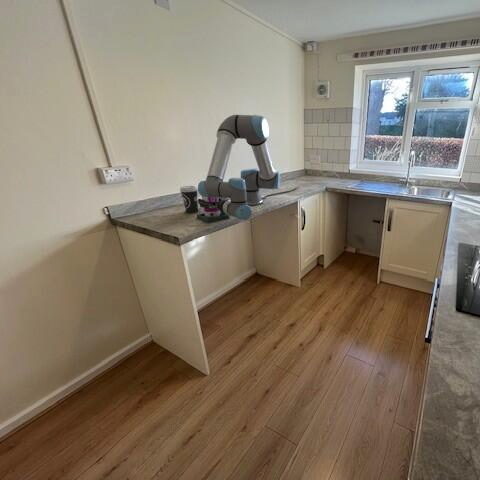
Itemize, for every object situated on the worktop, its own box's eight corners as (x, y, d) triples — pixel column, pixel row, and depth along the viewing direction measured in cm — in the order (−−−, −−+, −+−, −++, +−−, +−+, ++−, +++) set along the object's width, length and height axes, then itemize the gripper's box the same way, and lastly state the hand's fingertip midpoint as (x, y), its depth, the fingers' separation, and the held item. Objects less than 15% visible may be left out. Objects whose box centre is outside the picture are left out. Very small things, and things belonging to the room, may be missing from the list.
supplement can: (222, 215, 146) (219, 189, 140) (208, 218, 140) (204, 191, 135) (216, 212, 151) (213, 187, 146) (202, 215, 146) (198, 188, 140)
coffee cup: (196, 214, 153) (192, 188, 147) (180, 213, 153) (175, 188, 147) (203, 209, 162) (200, 185, 156) (188, 209, 162) (184, 185, 156)
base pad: (217, 213, 155) (217, 210, 154) (229, 218, 147) (228, 214, 146) (196, 218, 146) (196, 214, 145) (208, 223, 138) (207, 219, 137)
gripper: (210, 218, 126) (188, 209, 139) (246, 210, 141) (224, 203, 154) (208, 203, 123) (186, 195, 137) (245, 197, 138) (222, 190, 152)
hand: (206, 199), depth 146 cm, fingers closed on supplement can, 8 cm apart
